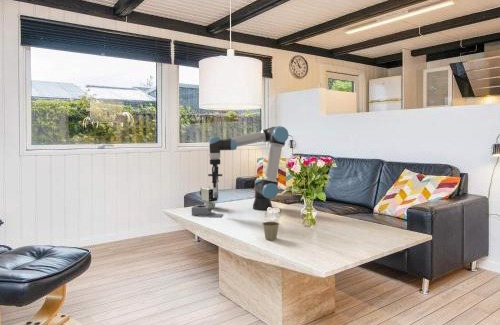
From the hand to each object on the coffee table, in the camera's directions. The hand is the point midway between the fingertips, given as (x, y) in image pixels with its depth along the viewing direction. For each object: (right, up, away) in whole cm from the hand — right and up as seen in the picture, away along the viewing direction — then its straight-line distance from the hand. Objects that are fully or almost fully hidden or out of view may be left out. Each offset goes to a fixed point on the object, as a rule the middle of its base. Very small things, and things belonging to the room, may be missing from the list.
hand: (215, 191), depth 260 cm
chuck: (-11, -17, +9) cm, 22 cm away
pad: (0, -18, +1) cm, 18 cm away
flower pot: (+36, -22, -57) cm, 71 cm away
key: (0, -5, 0) cm, 5 cm away
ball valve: (-7, -16, +30) cm, 34 cm away
